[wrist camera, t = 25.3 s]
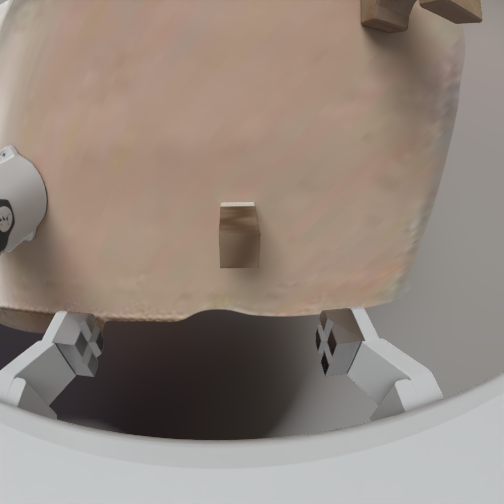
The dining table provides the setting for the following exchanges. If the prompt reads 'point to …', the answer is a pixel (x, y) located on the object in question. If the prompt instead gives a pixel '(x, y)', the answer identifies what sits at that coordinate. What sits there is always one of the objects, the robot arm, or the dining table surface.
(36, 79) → the dining table surface
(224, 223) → the walnut block
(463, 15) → the decorative block
